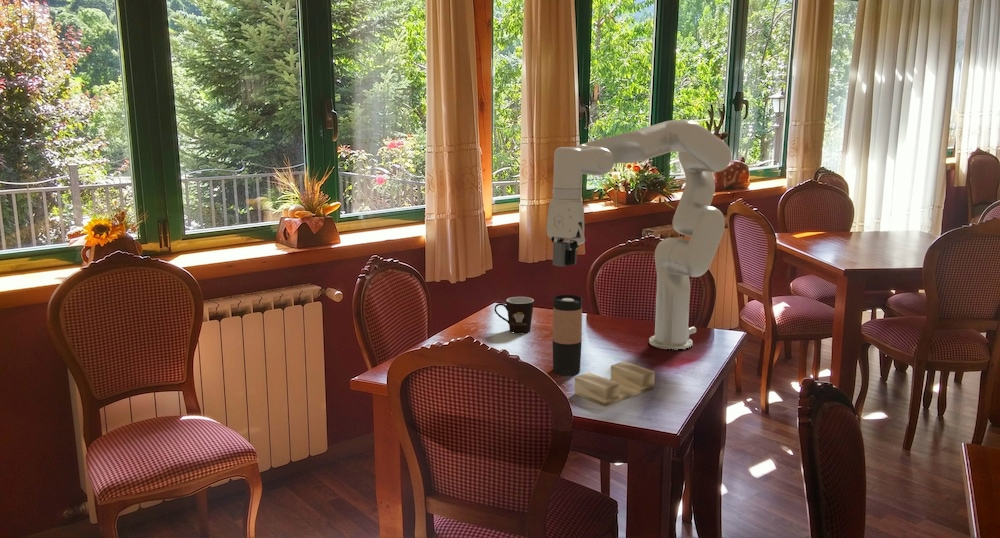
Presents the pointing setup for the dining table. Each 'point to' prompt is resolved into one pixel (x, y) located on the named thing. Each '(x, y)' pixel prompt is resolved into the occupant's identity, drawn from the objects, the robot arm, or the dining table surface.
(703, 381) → the dining table surface
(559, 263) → the tab
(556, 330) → the travel mug
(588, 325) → the dining table surface
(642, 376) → the notched board
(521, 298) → the coffee mug
